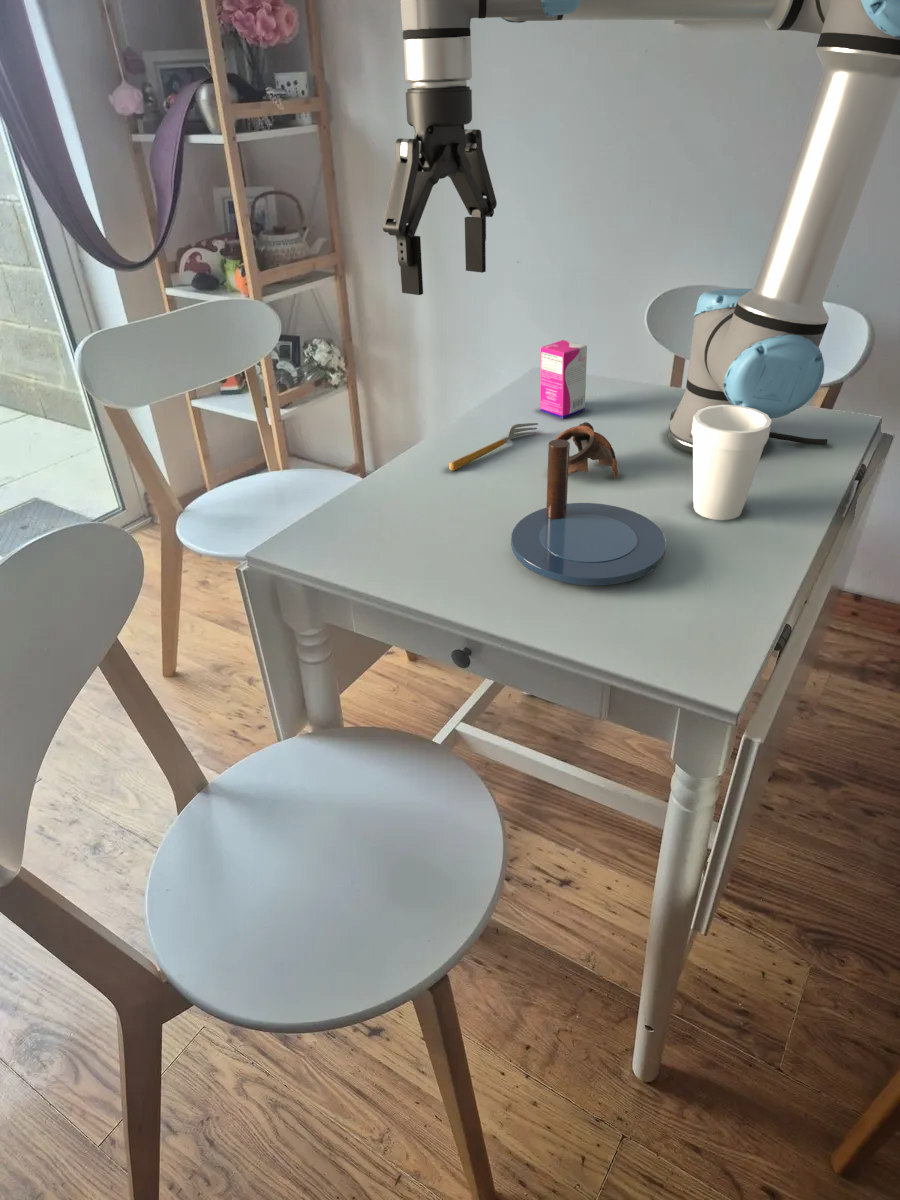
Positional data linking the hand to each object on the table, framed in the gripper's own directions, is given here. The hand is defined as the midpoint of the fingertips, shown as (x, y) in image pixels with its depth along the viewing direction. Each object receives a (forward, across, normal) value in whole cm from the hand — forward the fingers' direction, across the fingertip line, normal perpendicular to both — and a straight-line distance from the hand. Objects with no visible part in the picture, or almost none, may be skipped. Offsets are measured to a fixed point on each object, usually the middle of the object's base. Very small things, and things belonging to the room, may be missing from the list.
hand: (445, 282), depth 104 cm
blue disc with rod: (+27, +7, +26) cm, 38 cm away
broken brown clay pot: (+29, -14, +14) cm, 35 cm away
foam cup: (+29, -13, +35) cm, 47 cm away
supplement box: (+29, -35, -1) cm, 45 cm away
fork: (+29, -14, -2) cm, 32 cm away
